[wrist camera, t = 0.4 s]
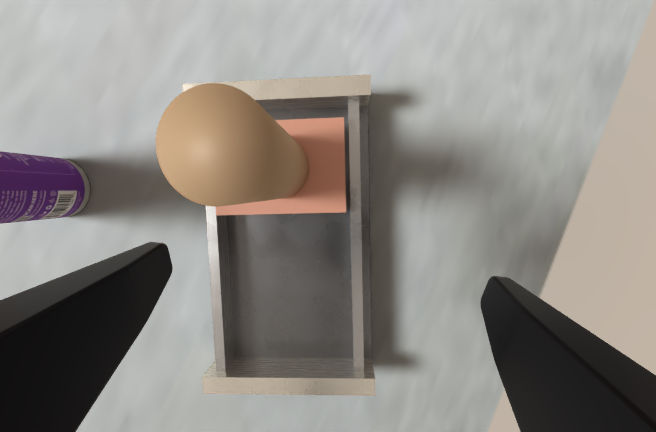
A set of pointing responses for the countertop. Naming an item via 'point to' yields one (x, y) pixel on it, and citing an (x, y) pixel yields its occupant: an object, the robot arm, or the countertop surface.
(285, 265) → the slide base
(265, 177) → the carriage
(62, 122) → the countertop surface
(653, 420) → the robot arm
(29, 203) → the container
